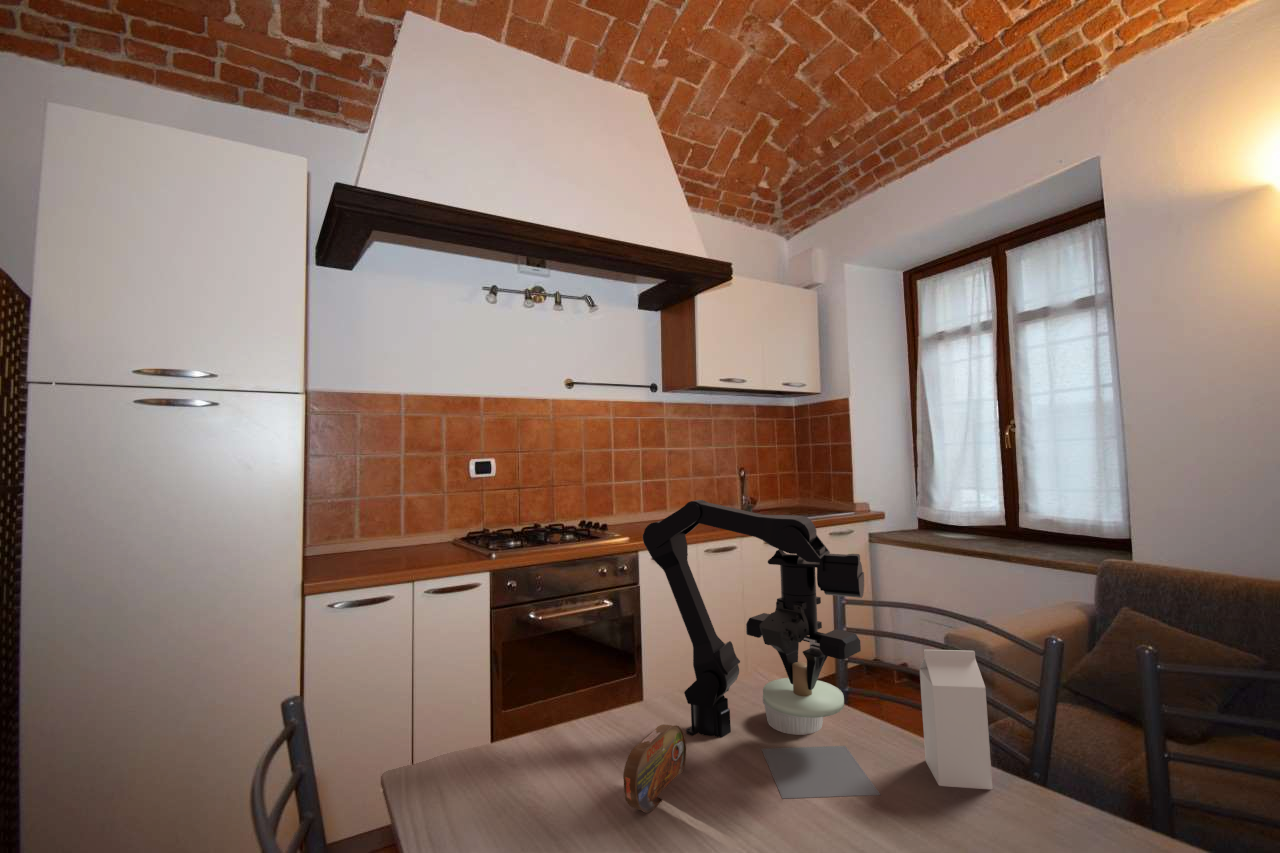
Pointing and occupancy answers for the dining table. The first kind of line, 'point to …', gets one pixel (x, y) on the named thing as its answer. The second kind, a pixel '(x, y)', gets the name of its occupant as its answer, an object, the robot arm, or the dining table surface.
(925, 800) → the dining table surface
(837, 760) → the mat
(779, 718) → the ramekin
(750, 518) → the robot arm
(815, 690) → the lid
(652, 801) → the tin
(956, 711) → the milk carton
